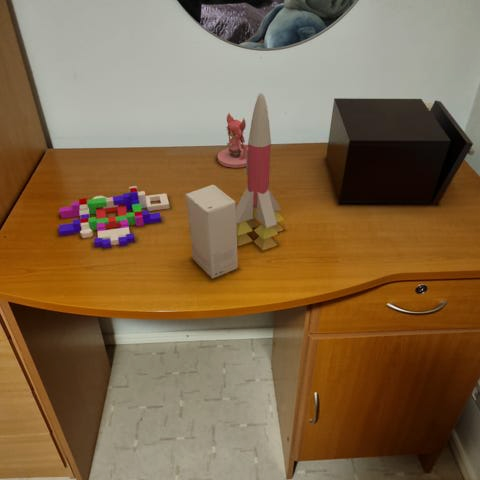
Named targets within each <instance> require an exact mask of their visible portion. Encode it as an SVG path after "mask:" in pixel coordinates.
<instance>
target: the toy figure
mask: <svg viewBox="0 0 480 480" xmlns="http://www.w3.org/2000/svg"><path fill="white" fill-rule="evenodd" d="M226 123H227V126H226V127H225V129H226V131H227V135H228V142H227V143H226V146H227V147H228V148H226V149H222V150H221V151H219V152H218V154H217V162H218V163H219V164H220V165H222V166H224V167H228V168H234V169H237V168H238V169H239V168H243V167H246V158H247V148H248V145H246V144H245V143H246V141H245V137H244V131H245V129H246V127H247V123H246V120H245V117H243V118H242V121H240V120H238V119H234V117H232V115H231V114H230V113H227V115H226Z"/></svg>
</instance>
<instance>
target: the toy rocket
mask: <svg viewBox="0 0 480 480" xmlns="http://www.w3.org/2000/svg"><path fill="white" fill-rule="evenodd" d="M249 128H250V129H249V135H248V142H247V158H246V166H245V167H246V169H245V170H246V171H245V175H246V176H247V186H246V188H245V189H244V192H243V193H242V196H241V198H240V199H239V201H238V204H237V205H236V231H237V247H240V246H244V245H246V244H249V243H252V242H253V243H254V244H255V245H256V246H257V247H258V248H260V249H261V250H262V251H265V250H269V249H270V248H273V247H276V246H278V244H277V243H276V241H274V239H273V238H272V237H274V236H275V237H276V236H277V235H279V232H281V231H284V228H283V227H282V225H280V223H279V222H282V221H284V220H285V219H284V218H283V217H282V216H281V214H280V213H279V211H280V210H282V208H281V206H280V204H279V203H278V201H277V200H276V198H275V196H274V195H273V193H272V191H271V190H270V186H269V185H270V169H271V149H272V139H271V128H270V119H269V112H268V105H267V101H266V98H265V95H264V94H263V93H262V92H260V93H259V94H258V96H257V97H256V101H255V104H254V108H253V113H252V117H251V122H250V127H249ZM256 220H257V221H258V222H259V223H260V225H259V224H258V223H257V221H256ZM250 232H255V233H256V234H257V235H258V236H257V238H256V239H254V240H253V239H252V237H250V236H249V234H248V233H250Z"/></svg>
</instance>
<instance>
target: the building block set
mask: <svg viewBox="0 0 480 480" xmlns="http://www.w3.org/2000/svg"><path fill="white" fill-rule="evenodd" d="M156 201H159V202H160V203H159V202H158V203H151V202H156ZM170 207H171V206H170V202H169V198H168V195H167V193H166V192H164V193H158V194H150V195H146V191H145V190H142V191H139V188H138V187H137V185H134V186H128V192H127V193H126V192H125V193H122V195H115V196H111V197H106V196H104V195H96V196H94V197H93V198H91V199H88V198H87V197H85V198H79V199H78V201H77V200H76V201H72V202H71V206H64V207H63V206H62V207H59V215H60V218H61V219H67V218H75V217H79V219H72V222H71V223H65V224H64V223H63V224H59V225H58V233H59V235H60V236H61V237H62V236H70V235H71V236H72V235H76V234H77V233H79V234H80V237H81V238H82V239H85V238H87V239H89V238H92V237H93V235H94V231H97V237H96V238H95V237H94V238H93V242H94V243H93V244H94V247H95V248H100V247H103V249H109V248H112V246H115V245H119V247H124V246H128V244H129V243H136V240H135V234H134V233H133V232H131V231H130V226H133V225H134V226H135V225H136V227H143V226H145V224H147V225H148V224H149V225H150V224H157V223H162V216H161V213H160V212H153V211H159V210H169V209H170ZM144 208H146V209H147V210H143V209H144ZM128 210H132V212H128ZM151 211H152V212H153V213H150V212H151ZM113 212H117V216H110V217H107V213H113ZM91 215H96V216H94V217H91Z"/></svg>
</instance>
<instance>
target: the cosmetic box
mask: <svg viewBox="0 0 480 480" xmlns="http://www.w3.org/2000/svg"><path fill="white" fill-rule="evenodd" d="M185 202H186V209H187V218H188V227H189V235H190V241H191V242H190V244H191V251H192V260H193V261H194V262H195V263H196V264H197V265H198V266H199V267H200V268H201V269H202V270H203V271H204V272H205V273H206V274H207V275H208V276H209V277H210V278H211V279H216V278H218V277H221V276H223V275H226V274H228V273H230V272H232V271H234V270H237V269H238V268H239V263H238V261H239V258H238V246H237V231H236V208H237V205H236V201H235V200H234V199H233V198H231V197H230V196H229V195H228V194H226V193H225V192H224V191H222V190H221V189H220V188H219V187H218V186H217V185H215V184H210V185H208V186H204V187H201V188H198V189H197V190H193V191H190V192H187V193H185Z"/></svg>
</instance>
